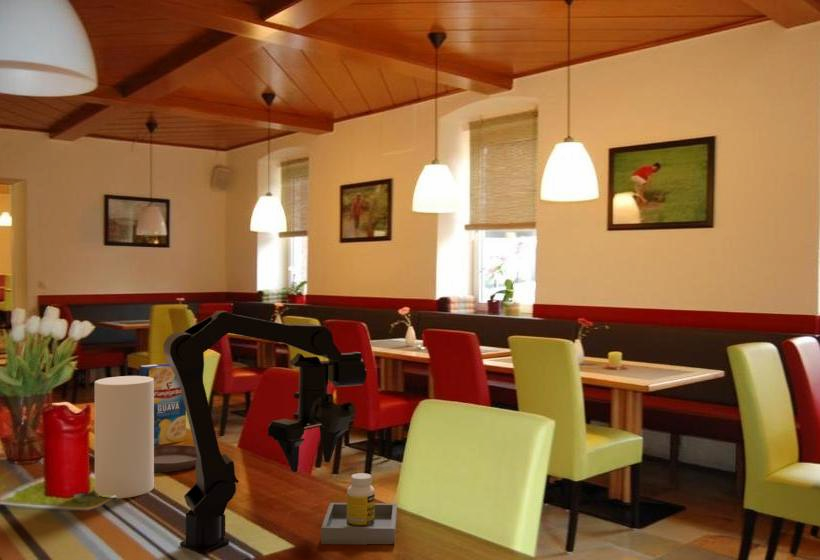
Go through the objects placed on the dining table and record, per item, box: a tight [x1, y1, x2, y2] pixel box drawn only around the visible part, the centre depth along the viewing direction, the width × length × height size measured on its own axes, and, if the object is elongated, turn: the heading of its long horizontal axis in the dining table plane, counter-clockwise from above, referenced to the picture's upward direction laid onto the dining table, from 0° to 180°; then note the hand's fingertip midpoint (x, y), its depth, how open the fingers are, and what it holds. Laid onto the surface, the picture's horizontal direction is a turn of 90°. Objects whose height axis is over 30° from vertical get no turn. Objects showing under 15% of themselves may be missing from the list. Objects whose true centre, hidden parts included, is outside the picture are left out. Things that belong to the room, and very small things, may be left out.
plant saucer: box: [154, 444, 197, 473], centre depth 181 cm, size 18×18×3 cm
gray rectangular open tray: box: [320, 502, 398, 545], centre depth 137 cm, size 14×14×3 cm
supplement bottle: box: [346, 472, 376, 527], centre depth 137 cm, size 5×5×10 cm
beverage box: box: [138, 362, 187, 447], centre depth 203 cm, size 7×11×22 cm, turn 133°
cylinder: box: [94, 375, 155, 499], centre depth 160 cm, size 12×12×25 cm
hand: (311, 466), depth 139 cm, fingers open, 9 cm apart
